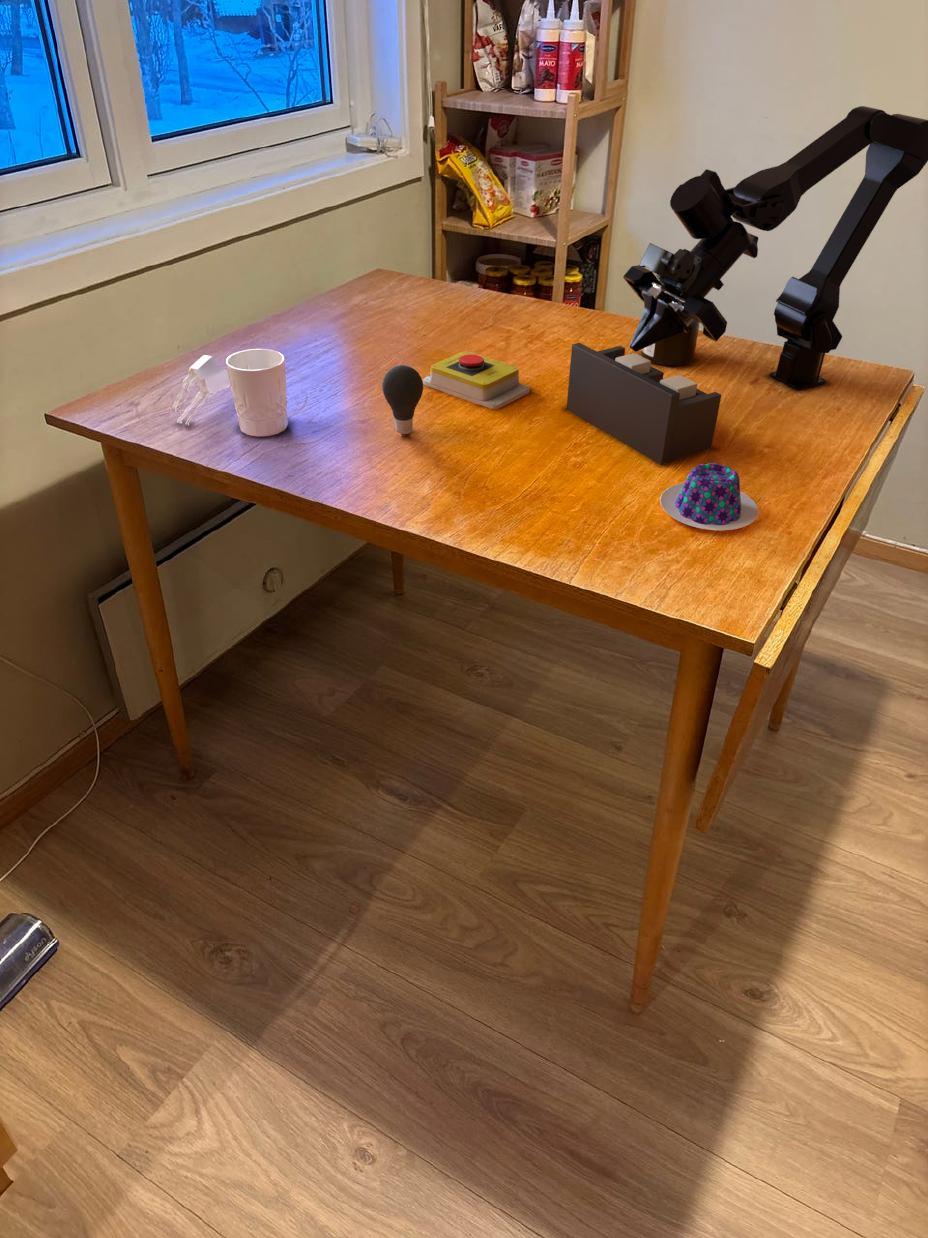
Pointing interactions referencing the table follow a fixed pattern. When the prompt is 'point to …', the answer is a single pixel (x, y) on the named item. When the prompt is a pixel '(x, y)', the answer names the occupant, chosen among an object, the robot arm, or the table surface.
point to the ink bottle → (674, 347)
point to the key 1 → (635, 362)
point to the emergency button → (477, 380)
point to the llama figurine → (202, 384)
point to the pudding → (710, 499)
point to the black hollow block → (638, 406)
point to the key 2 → (681, 386)
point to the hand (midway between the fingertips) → (632, 349)
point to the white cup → (259, 391)
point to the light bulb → (403, 395)
